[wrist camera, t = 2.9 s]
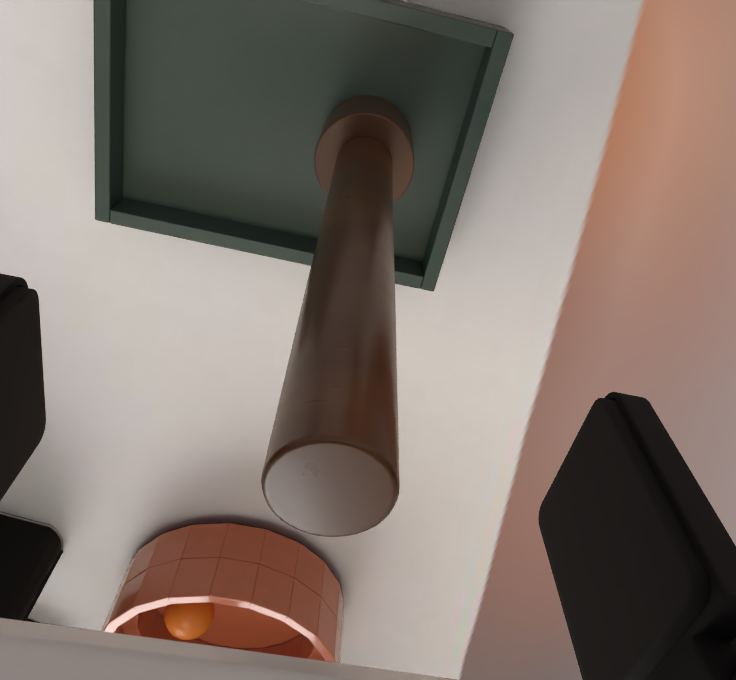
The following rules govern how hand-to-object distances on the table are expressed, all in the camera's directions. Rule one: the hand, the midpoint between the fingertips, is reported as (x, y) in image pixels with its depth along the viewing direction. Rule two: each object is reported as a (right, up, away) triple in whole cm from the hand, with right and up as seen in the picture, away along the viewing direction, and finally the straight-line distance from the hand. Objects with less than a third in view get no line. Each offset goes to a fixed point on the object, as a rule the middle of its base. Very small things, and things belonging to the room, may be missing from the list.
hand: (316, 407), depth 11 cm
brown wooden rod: (+1, +9, +14) cm, 17 cm away
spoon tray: (-2, +10, +15) cm, 18 cm away
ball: (-10, -16, +28) cm, 34 cm away
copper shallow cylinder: (-8, -15, +30) cm, 35 cm away
